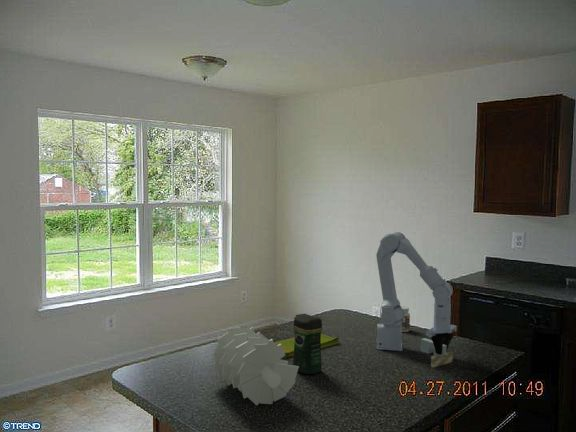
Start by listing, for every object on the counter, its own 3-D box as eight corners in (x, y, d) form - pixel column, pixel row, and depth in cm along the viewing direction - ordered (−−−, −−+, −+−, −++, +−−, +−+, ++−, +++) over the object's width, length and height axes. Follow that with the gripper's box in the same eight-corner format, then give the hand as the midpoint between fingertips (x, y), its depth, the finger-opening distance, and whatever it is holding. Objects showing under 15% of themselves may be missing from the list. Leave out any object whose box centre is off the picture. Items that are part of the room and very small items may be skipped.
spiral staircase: (259, 426, 131) (221, 388, 152) (308, 387, 138) (266, 356, 160) (234, 373, 125) (199, 342, 146) (287, 335, 133) (246, 311, 154)
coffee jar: (325, 371, 159) (326, 316, 158) (307, 377, 155) (308, 320, 154) (306, 363, 167) (307, 310, 166) (288, 368, 162) (289, 313, 161)
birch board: (433, 367, 164) (433, 357, 164) (430, 366, 165) (431, 356, 165) (452, 361, 170) (452, 352, 170) (449, 360, 171) (449, 351, 171)
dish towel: (241, 352, 178) (241, 344, 178) (314, 335, 200) (314, 328, 200) (265, 365, 166) (265, 356, 166) (340, 345, 188) (340, 337, 188)
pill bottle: (409, 332, 204) (410, 309, 203) (395, 331, 205) (396, 308, 204) (409, 328, 209) (409, 306, 209) (395, 328, 211) (396, 305, 210)
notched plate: (420, 350, 181) (420, 339, 181) (424, 349, 183) (424, 338, 182) (442, 358, 173) (442, 346, 173) (446, 357, 174) (446, 345, 174)
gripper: (437, 321, 167) (436, 360, 167) (464, 316, 175) (462, 352, 175) (421, 317, 173) (420, 354, 173) (448, 311, 181) (446, 347, 181)
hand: (440, 353), depth 175 cm, fingers closed on notched plate, 2 cm apart
